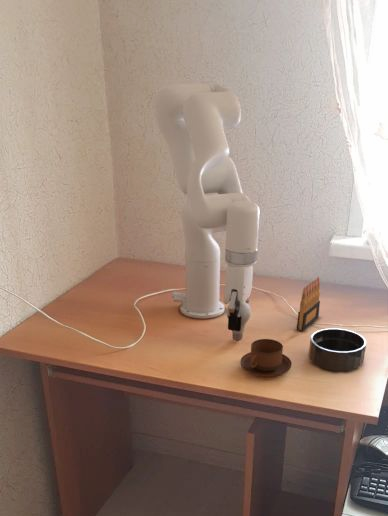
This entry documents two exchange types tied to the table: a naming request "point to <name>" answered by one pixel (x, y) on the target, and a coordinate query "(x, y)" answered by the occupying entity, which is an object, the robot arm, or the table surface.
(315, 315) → the ammunition clip
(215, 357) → the table surface
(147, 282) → the table surface
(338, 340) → the bowl
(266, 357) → the cup and saucer
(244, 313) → the lightbulb
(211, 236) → the robot arm
